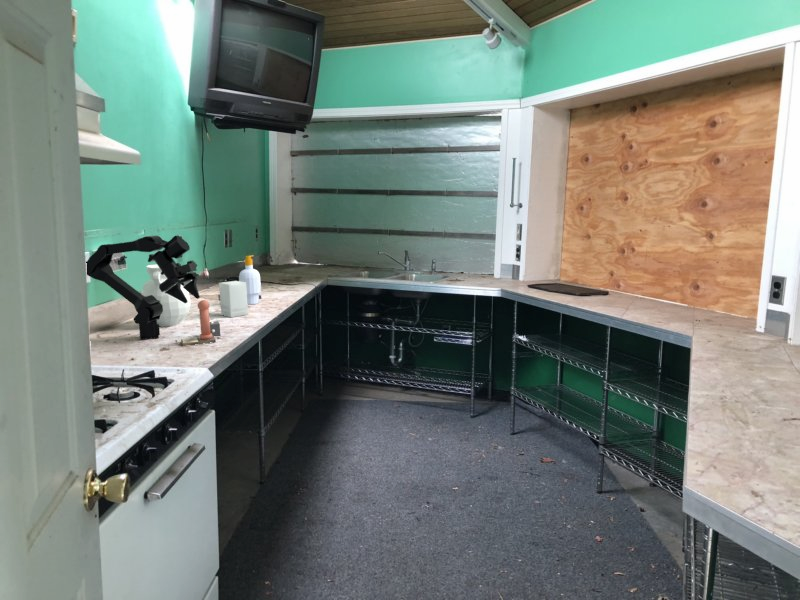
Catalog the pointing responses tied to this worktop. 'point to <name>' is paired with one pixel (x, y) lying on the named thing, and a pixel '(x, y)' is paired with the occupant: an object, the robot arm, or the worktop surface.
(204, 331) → the pawn
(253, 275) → the soap bottle
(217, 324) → the die
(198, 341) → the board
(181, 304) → the pitcher
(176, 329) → the worktop surface
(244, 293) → the supplement box
